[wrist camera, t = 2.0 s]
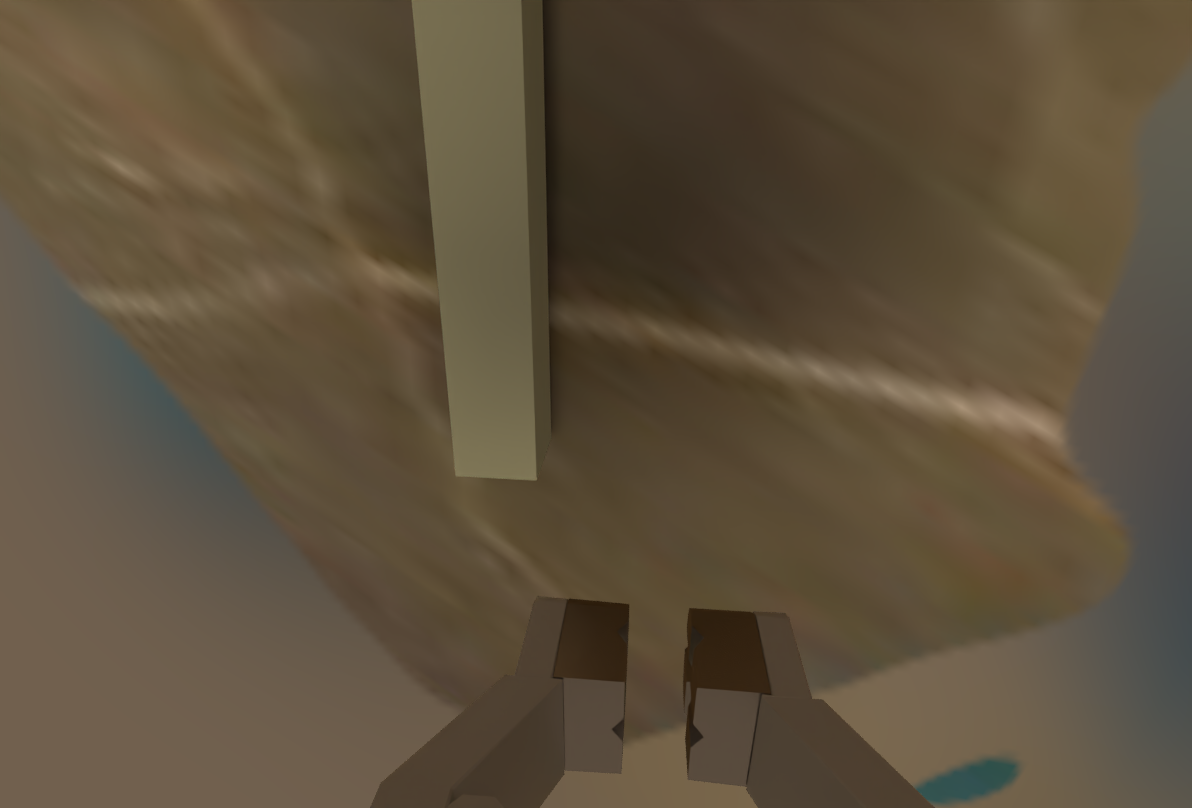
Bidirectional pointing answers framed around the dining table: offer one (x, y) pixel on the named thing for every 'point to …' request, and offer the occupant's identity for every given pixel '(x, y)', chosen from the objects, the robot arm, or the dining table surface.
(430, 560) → the dining table surface
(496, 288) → the folding leg
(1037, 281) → the dining table surface
